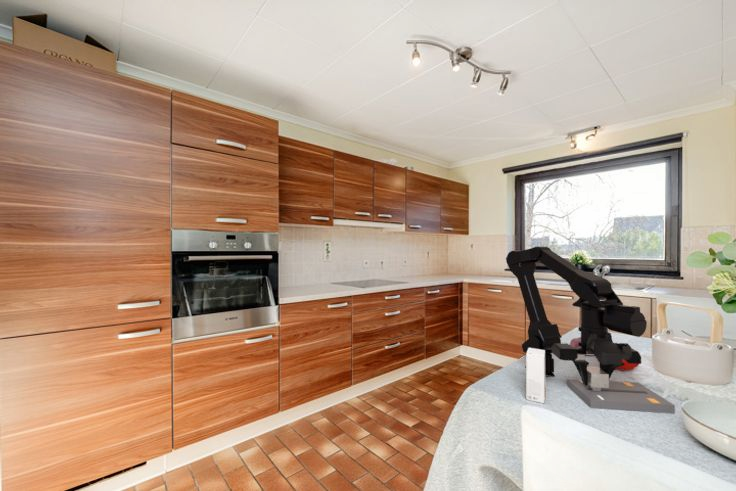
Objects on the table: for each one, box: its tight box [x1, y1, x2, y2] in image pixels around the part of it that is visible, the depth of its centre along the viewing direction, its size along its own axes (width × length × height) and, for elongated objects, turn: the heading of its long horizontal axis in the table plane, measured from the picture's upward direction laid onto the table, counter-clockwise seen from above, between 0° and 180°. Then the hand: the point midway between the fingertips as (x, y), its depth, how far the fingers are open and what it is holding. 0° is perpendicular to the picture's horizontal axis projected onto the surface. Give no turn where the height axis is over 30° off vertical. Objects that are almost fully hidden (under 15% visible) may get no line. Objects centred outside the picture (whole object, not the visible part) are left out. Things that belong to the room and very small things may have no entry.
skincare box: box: [525, 348, 546, 404], centre depth 81 cm, size 6×4×12 cm
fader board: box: [566, 378, 676, 415], centre depth 80 cm, size 18×12×2 cm, turn 81°
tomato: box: [615, 347, 640, 371], centre depth 100 cm, size 10×11×6 cm
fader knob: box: [587, 365, 610, 391], centre depth 81 cm, size 4×5×5 cm
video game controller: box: [569, 336, 581, 348], centre depth 112 cm, size 10×5×7 cm, turn 58°
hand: (594, 385), depth 81 cm, fingers closed on fader knob, 4 cm apart
